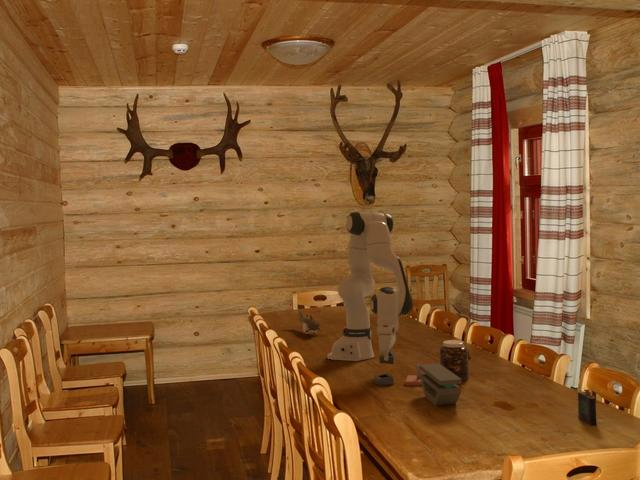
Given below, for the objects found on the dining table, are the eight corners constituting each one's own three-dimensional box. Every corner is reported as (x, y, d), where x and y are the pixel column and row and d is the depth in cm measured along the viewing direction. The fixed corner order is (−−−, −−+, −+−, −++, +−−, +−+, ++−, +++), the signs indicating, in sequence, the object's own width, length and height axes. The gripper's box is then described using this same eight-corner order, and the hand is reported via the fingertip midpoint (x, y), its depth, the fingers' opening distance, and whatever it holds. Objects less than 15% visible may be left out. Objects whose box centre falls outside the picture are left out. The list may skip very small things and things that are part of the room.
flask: (576, 417, 238) (576, 385, 238) (584, 416, 239) (584, 385, 238) (591, 426, 229) (590, 393, 228) (599, 425, 230) (599, 392, 229)
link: (379, 363, 301) (379, 356, 301) (382, 359, 307) (382, 352, 306) (393, 364, 299) (393, 357, 299) (395, 360, 305) (395, 353, 305)
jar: (470, 374, 299) (469, 339, 298) (466, 382, 288) (465, 345, 287) (442, 373, 303) (441, 338, 302) (437, 380, 292) (436, 344, 291)
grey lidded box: (420, 392, 276) (419, 364, 275) (439, 390, 277) (438, 363, 276) (441, 411, 251) (440, 380, 251) (462, 409, 252) (461, 379, 252)
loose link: (379, 386, 287) (379, 378, 287) (374, 382, 293) (374, 375, 293) (393, 384, 289) (393, 377, 289) (387, 380, 295) (387, 373, 294)
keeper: (405, 385, 287) (404, 368, 287) (407, 378, 297) (407, 362, 296) (430, 385, 285) (429, 368, 284) (432, 379, 294) (431, 362, 294)
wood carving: (306, 327, 424) (306, 308, 424) (325, 337, 391) (325, 317, 390) (292, 328, 422) (291, 309, 421) (310, 339, 388) (309, 318, 388)
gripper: (384, 321, 313) (384, 351, 314) (376, 330, 293) (376, 363, 294) (399, 321, 311) (399, 352, 312) (391, 331, 291) (391, 364, 292)
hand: (387, 358), depth 303 cm, fingers closed on link, 6 cm apart
